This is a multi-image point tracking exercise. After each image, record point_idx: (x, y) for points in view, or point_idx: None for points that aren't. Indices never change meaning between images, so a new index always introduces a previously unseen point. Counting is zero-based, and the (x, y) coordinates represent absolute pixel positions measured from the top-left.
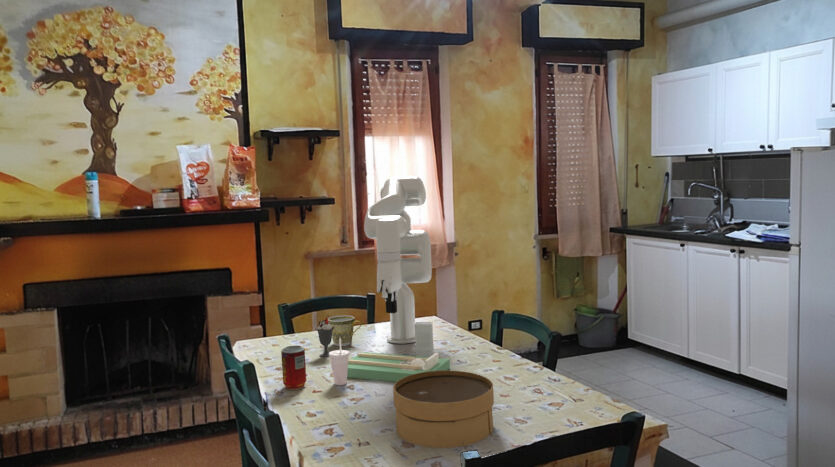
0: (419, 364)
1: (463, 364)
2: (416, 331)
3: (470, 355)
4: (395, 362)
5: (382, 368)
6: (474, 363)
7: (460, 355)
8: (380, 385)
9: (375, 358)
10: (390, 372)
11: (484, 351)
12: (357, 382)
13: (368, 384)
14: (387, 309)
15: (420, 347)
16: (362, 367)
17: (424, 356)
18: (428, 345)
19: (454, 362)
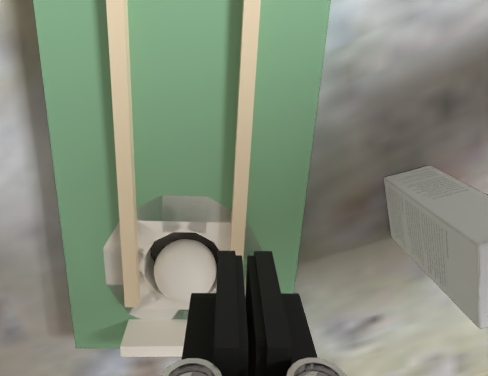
0: (162, 293)
1: (328, 346)
2: (450, 234)
3: (433, 336)
4: (192, 177)
5: (89, 158)
6: (343, 370)
7: (432, 309)
8: (14, 175)
9: (232, 54)
10: (59, 209)
11: (481, 360)
12: (4, 64)
13: (3, 124)
14: (191, 297)
15: (406, 212)
16: (68, 54)
17: (389, 210)
18: (414, 248)
19: (346, 316)
